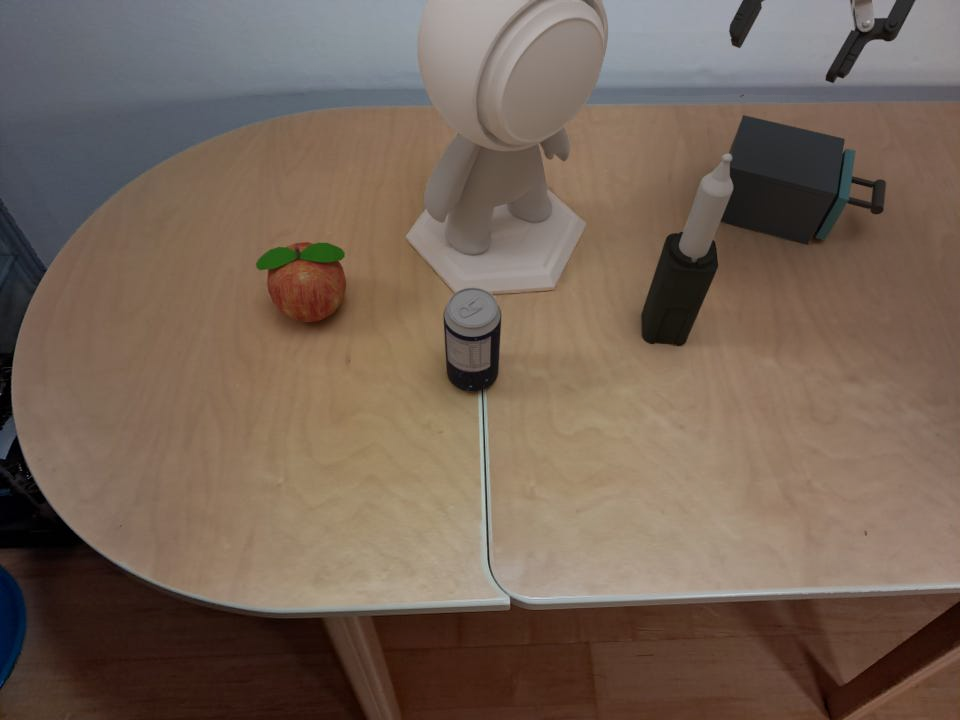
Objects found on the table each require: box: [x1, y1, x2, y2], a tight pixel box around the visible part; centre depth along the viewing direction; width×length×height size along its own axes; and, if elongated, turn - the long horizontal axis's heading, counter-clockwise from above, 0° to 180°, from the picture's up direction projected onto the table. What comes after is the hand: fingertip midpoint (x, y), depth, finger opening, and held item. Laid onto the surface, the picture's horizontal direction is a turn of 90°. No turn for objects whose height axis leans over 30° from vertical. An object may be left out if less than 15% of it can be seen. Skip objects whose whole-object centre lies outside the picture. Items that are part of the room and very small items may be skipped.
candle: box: [640, 152, 733, 347], centre depth 71 cm, size 5×5×25 cm
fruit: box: [255, 241, 347, 323], centre depth 78 cm, size 9×10×10 cm
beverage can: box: [442, 288, 502, 393], centre depth 72 cm, size 6×6×12 cm
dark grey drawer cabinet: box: [720, 114, 846, 246], centre depth 89 cm, size 13×11×9 cm
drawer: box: [815, 148, 887, 241], centre depth 88 cm, size 16×9×7 cm, turn 69°
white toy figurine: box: [405, 0, 609, 296], centre depth 75 cm, size 20×23×35 cm
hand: (780, 61), depth 60 cm, fingers open, 8 cm apart
